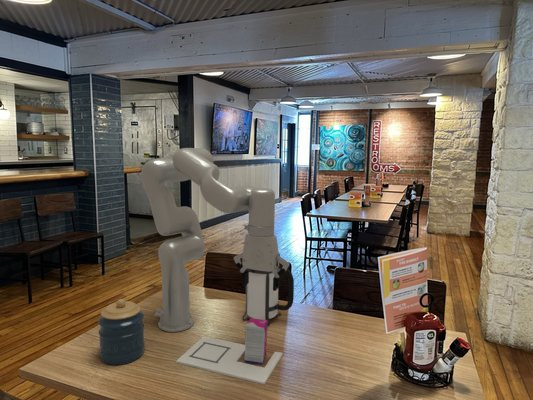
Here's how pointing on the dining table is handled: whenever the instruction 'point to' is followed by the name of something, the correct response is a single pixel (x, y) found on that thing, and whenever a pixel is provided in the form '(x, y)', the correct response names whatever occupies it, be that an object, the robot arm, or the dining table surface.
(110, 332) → the canister
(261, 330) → the supplement box
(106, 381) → the dining table surface
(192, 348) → the board
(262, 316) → the coffee press
